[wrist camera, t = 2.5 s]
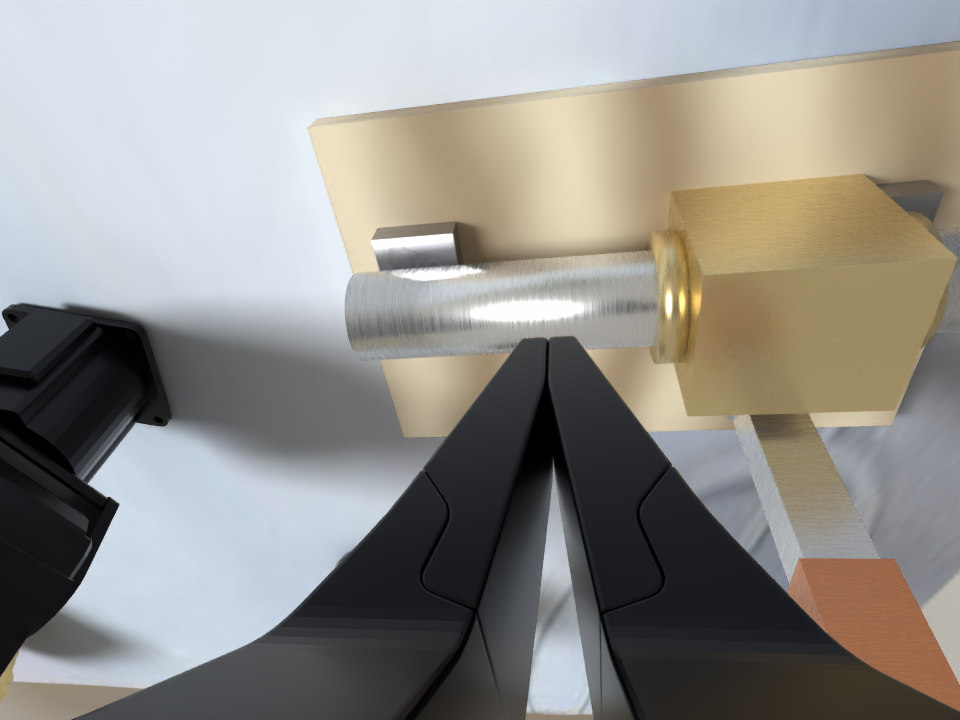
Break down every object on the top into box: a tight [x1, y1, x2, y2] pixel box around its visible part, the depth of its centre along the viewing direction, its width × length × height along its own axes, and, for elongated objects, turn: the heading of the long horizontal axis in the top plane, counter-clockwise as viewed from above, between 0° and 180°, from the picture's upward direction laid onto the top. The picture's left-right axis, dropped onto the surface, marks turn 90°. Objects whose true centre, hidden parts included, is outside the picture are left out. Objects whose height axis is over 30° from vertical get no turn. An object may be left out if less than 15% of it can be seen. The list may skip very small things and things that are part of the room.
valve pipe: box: [345, 174, 960, 417], centre depth 19 cm, size 20×5×6 cm, turn 98°
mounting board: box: [307, 41, 960, 438], centre depth 23 cm, size 22×15×1 cm
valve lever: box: [725, 413, 960, 711], centre depth 17 cm, size 3×2×14 cm
